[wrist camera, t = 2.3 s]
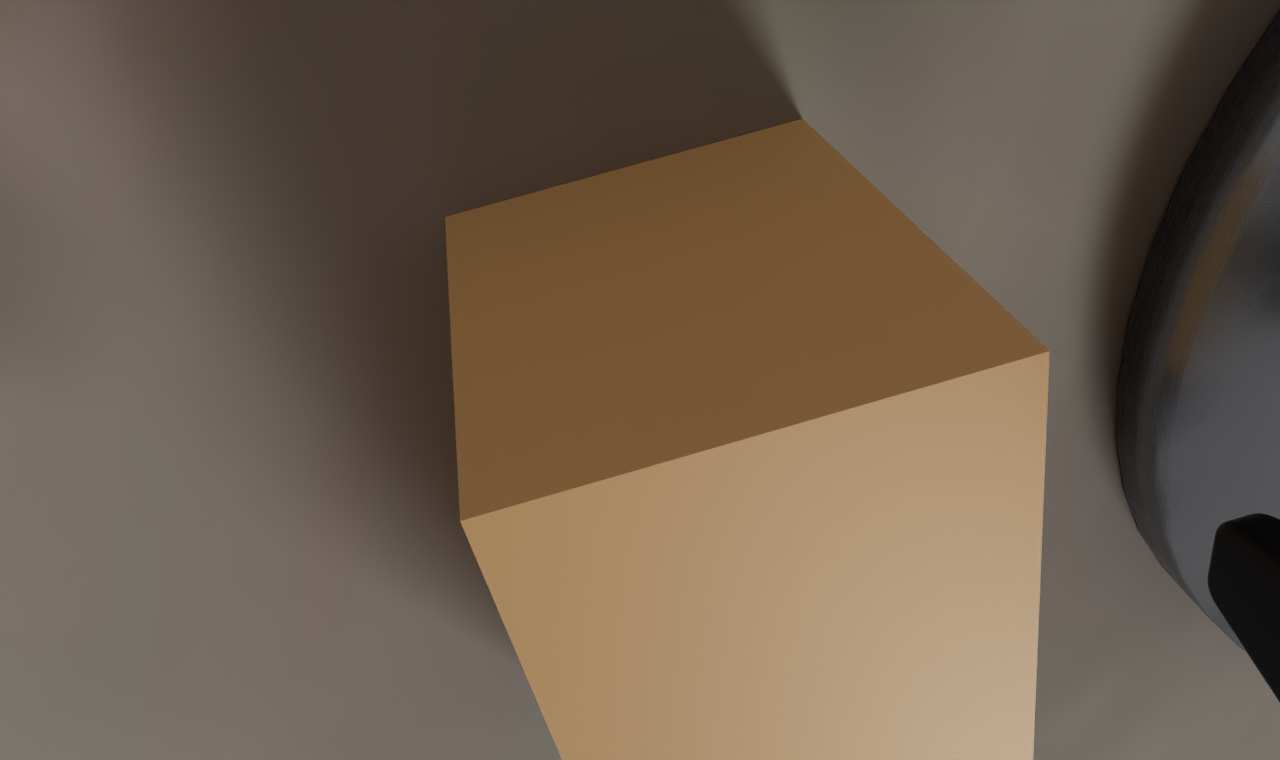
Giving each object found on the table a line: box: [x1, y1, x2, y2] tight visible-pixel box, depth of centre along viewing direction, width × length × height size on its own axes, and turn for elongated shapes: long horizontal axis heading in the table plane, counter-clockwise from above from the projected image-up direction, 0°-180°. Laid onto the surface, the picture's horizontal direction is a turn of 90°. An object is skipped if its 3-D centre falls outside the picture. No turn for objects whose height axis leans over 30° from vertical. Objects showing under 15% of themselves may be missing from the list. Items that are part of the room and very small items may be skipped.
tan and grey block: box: [445, 119, 1050, 760], centre depth 11 cm, size 4×9×5 cm, turn 12°
